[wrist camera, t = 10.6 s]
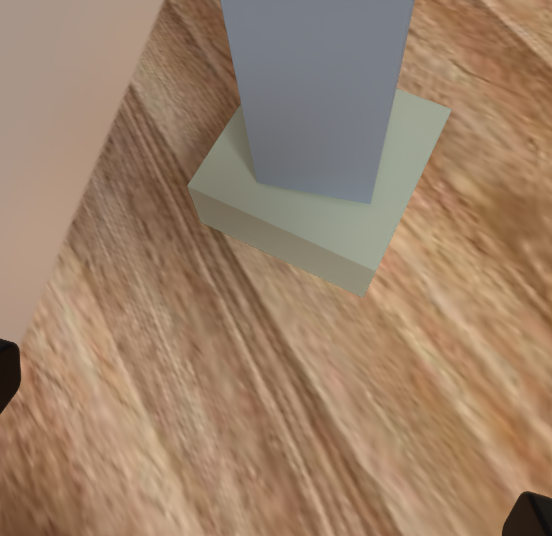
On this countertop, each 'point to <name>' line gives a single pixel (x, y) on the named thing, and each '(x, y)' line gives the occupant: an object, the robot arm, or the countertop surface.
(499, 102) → the countertop surface
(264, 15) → the grey tall block
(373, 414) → the countertop surface
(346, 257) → the sage block
